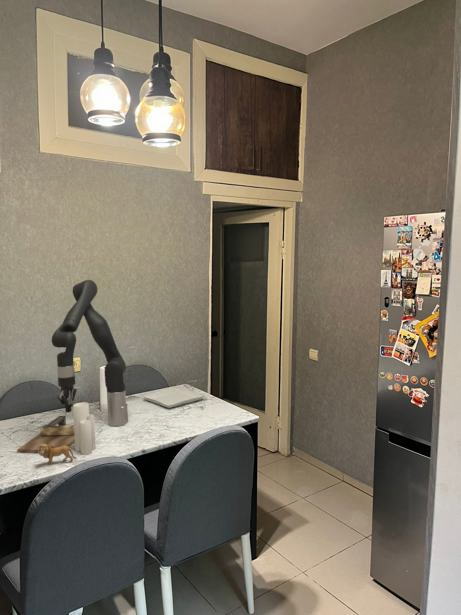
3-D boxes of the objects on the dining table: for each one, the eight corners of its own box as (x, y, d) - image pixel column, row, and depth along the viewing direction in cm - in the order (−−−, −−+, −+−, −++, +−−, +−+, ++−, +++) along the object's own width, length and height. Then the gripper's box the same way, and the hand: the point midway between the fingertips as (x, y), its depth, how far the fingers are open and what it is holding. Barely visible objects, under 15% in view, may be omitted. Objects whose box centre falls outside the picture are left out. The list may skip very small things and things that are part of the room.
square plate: (178, 392, 294) (178, 386, 293) (206, 401, 274) (205, 394, 273) (142, 401, 275) (141, 395, 275) (168, 411, 255) (168, 404, 255)
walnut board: (88, 430, 226) (87, 415, 226) (61, 453, 199) (60, 436, 198) (49, 429, 228) (48, 414, 228) (17, 452, 201) (16, 435, 200)
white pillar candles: (72, 448, 204) (70, 404, 202) (87, 444, 209) (85, 401, 207) (84, 455, 196) (82, 410, 194) (100, 450, 201) (98, 406, 199)
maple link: (39, 436, 215) (39, 426, 214) (42, 432, 219) (42, 423, 218) (75, 434, 216) (75, 425, 215) (78, 431, 220) (77, 422, 219)
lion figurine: (39, 469, 184) (38, 447, 183) (38, 464, 189) (37, 442, 188) (77, 461, 191) (76, 440, 190) (75, 456, 195) (74, 436, 195)
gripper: (66, 378, 204) (68, 416, 205) (80, 371, 217) (83, 407, 218) (50, 378, 205) (53, 416, 207) (66, 371, 218) (68, 407, 220)
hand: (68, 411), depth 213 cm, fingers closed
